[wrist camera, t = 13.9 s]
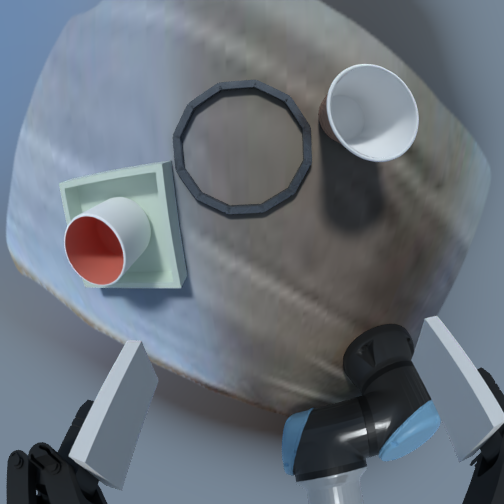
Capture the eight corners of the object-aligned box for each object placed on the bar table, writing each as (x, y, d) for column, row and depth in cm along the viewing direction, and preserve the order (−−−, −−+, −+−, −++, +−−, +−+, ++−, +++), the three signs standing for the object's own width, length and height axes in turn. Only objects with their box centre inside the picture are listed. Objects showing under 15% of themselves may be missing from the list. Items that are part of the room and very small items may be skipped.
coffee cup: (354, 167, 36) (390, 181, 25) (292, 127, 34) (307, 123, 23) (387, 111, 32) (432, 106, 21) (328, 69, 30) (356, 45, 19)
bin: (187, 274, 43) (181, 288, 40) (96, 276, 44) (85, 287, 40) (171, 160, 36) (161, 163, 32) (73, 178, 37) (59, 183, 33)
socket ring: (310, 209, 38) (311, 211, 38) (183, 215, 39) (181, 217, 38) (306, 80, 31) (307, 79, 30) (171, 90, 32) (169, 89, 31)
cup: (141, 186, 37) (108, 204, 28) (162, 248, 41) (137, 280, 32) (91, 205, 38) (54, 225, 29) (111, 260, 42) (81, 291, 33)
